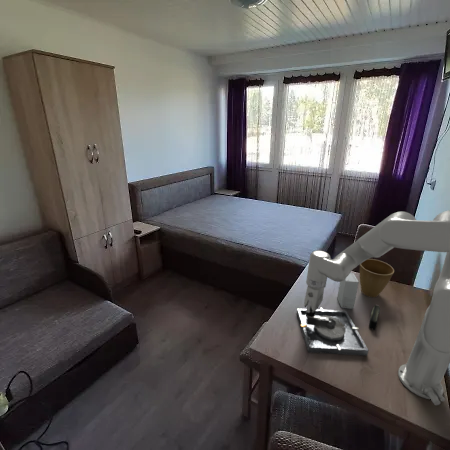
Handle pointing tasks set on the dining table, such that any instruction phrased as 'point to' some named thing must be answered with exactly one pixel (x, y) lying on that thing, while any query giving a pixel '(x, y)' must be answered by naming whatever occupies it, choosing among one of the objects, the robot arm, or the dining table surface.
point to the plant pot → (374, 276)
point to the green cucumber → (374, 317)
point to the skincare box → (348, 291)
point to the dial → (327, 327)
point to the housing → (318, 344)
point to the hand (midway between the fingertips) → (310, 317)
